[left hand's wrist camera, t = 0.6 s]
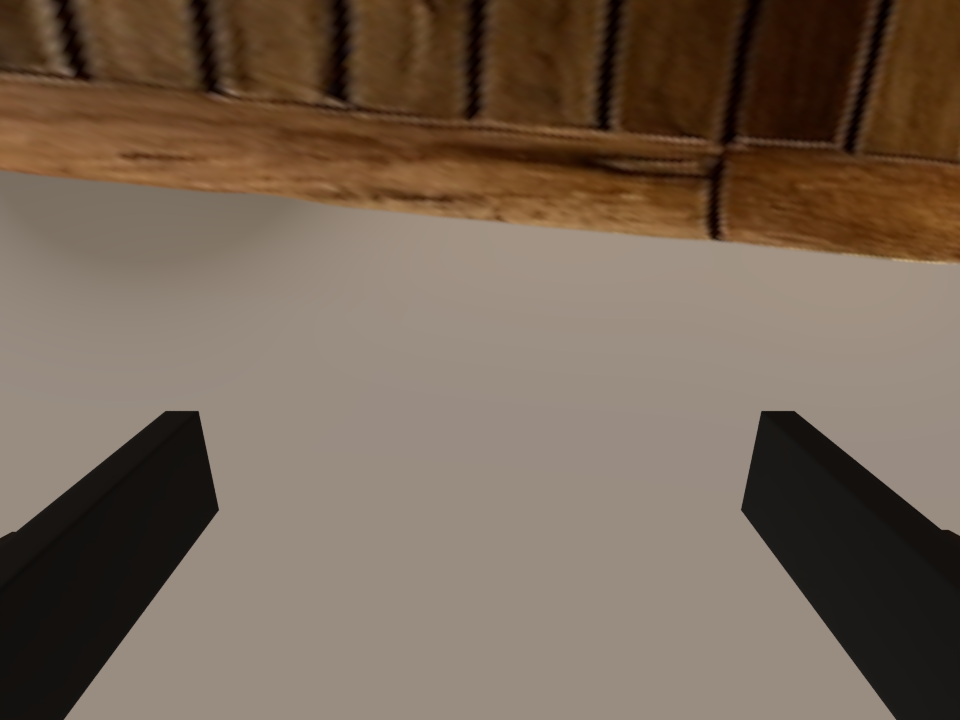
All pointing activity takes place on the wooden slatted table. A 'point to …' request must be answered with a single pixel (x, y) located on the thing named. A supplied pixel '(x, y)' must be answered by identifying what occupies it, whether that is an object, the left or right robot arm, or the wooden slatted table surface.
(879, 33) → the wooden slatted table surface
